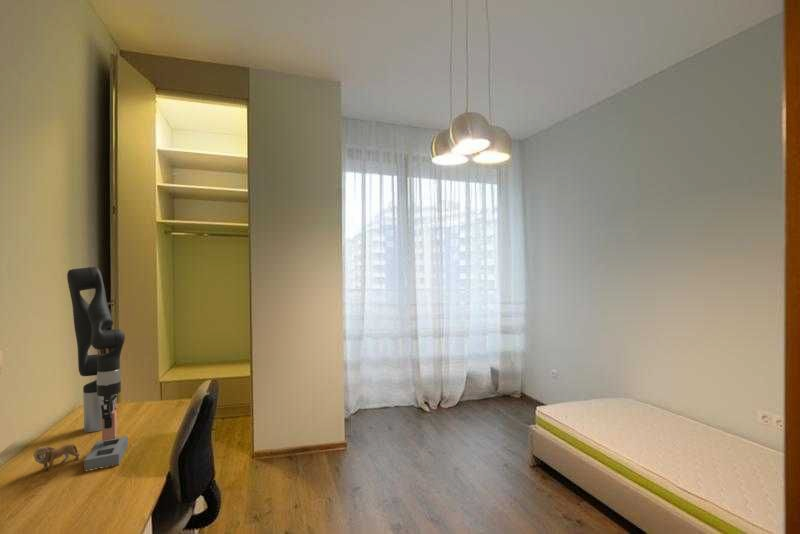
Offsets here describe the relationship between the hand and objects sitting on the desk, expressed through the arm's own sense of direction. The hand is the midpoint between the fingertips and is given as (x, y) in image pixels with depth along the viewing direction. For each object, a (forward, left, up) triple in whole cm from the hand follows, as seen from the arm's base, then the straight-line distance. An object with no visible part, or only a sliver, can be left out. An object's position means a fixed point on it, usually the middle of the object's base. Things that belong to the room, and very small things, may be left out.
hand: (109, 425), depth 154 cm
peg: (0, 0, -5) cm, 5 cm away
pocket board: (+4, 0, -11) cm, 11 cm away
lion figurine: (+3, -15, -11) cm, 19 cm away
